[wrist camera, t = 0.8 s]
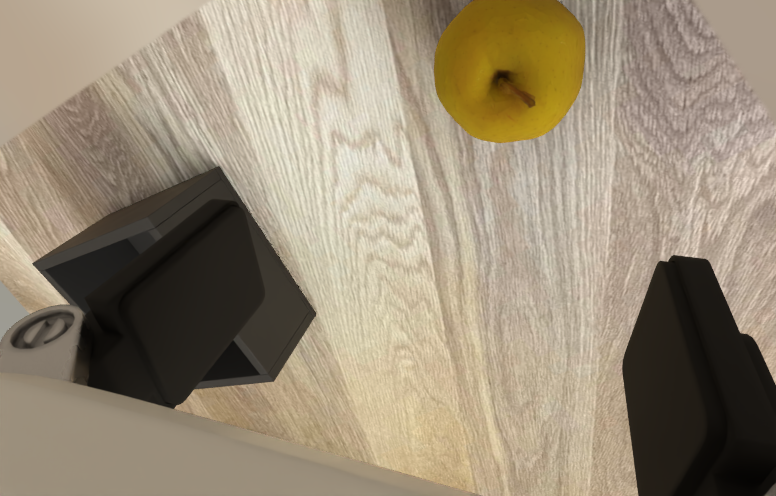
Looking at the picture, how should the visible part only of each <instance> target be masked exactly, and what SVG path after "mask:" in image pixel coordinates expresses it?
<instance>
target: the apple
mask: <svg viewBox="0 0 776 496" xmlns="http://www.w3.org/2000/svg"><path fill="white" fill-rule="evenodd" d="M584 62H585V36H584V31H583V28H582V26H581V24H580V23H579V22H578V20H577V19H576V18H575V16H574V15H573V14H572V13H570V12H569V11H568V10H567V9H566V8H565V7H564V6H563V5H562V4H561V3H560V2H558V1H557V0H473V1H472V2H470V3H469V4H468V5H467V6H465V7H464V8H463V10H462V11H461V12H460V13H459V14H458V15H457V16H456V17H455V18H454V19H453V20H452V21H451V23H450V24H449V25H448V27H447V28H446V29H445V31H444V32H443V34H442V36H441V38H440V40H439V42H438V45H437V48H436V52H435V63H434V76H435V87H436V91H437V95H438V97H439V100H440V101H441V103H442V104H443V106H444V108H445V109H446V111H447V112H448V113H449V114H450V115H451V116H452V118H453V119H454V120H455V121H456V122H457V123H458V124H459V125H460V126H461V127H462V128H463V129H464V130H465V131H466V132H467V133H468V134H470V135H471V136H473V137H475V138H478V139H481V140H485V141H490V142H495V143H505V142H514V141H520V140H529V139H533V138H537V137H539V136H542V135H544V134H545V133H547V132H549V131H550V130H551V129H553V128H554V127H555V126H556V125H557V124H558V123H559V122H560V121H561V119H562V118H563V117H564V116H565V115H566V113H567V112H568V110H569V109H570V107H571V106H572V104H573V103H574V101H575V99H576V98H577V95H578V93H579V91H580V88H581V84H582V79H583V71H584Z"/></svg>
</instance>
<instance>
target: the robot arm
mask: <svg viewBox="0 0 776 496" xmlns="http://www.w3.org/2000/svg"><path fill="white" fill-rule="evenodd" d="M264 298H265V287H264V284H263V280H262V276H261V272H260V268H259V264H258V260H257V256H256V253H255V249H254V245H253V241H252V237H251V233H250V229H249V226H248V222H247V218H246V214H245V211H244V210H243V208H241V207H240V206H239V204H238V203H237V202H235V201H232V200H224V199H211V200H209V201H208V202H206V203H205V204H204V205H203V206H201V207H200V208H199V209H198V210H196V211H195V212H194V213H192V214H191V215H190V216H189V217H187V218H186V219H185V220H183V221H182V222H181V223H180V224H178V225H177V226H176V227H175V228H173V229H172V230H171V231H169V232H168V233H167V234H166V235H164V236H163V237H162V238H160V239H159V240H158V241H157V242H155V243H154V244H153V245H151V246H150V247H149V248H148V249H146V250H145V251H144V252H143V253H141V254H140V255H139V256H137V257H136V258H135V259H134V260H132V261H131V262H130V263H128V264H127V265H126V266H125V267H123V268H122V269H121V270H120V271H118V272H117V273H116V274H114V275H113V276H112V277H111V278H109V279H108V280H107V281H105V282H104V283H103V284H102V285H100V286H99V287H98V288H96V289H95V290H94V291H93V292H91V293H90V294H89V295H88V296H86V297H85V298H84V299H85V301H86V302H87V304H88V306H89V308H90V311H89V312H88V313H87V314H85V315H84V314H83V312H82V311H81V310H80V309H79V307H76V306H73V305H56V306H50V307H47V308H44V309H41V310H38V311H36V312H34V313H32V314H30V315H28V316H26V317H24V318H23V319H21V320H19V321H18V322H17V323H15V324H14V325H13V326H12V327H11V328H10V329H9V330H8V331H7V332H6V333H5V335H4V337H3V338H2V340H1V342H0V496H481V495H478V494H474V493H471V492H467V491H464V490H460V489H457V488H453V487H450V486H446V485H443V484H439V483H436V482H432V481H429V480H425V479H422V478H418V477H415V476H411V475H408V474H404V473H401V472H397V471H394V470H390V469H387V468H383V467H380V466H376V465H373V464H369V463H366V462H362V461H358V460H355V459H351V458H348V457H344V456H341V455H337V454H334V453H330V452H326V451H323V450H319V449H316V448H312V447H309V446H305V445H301V444H298V443H294V442H291V441H287V440H284V439H280V438H276V437H273V436H269V435H266V434H262V433H258V432H255V431H251V430H248V429H244V428H240V427H237V426H233V425H230V424H226V423H222V422H219V421H215V420H212V419H208V418H204V417H201V416H197V415H193V414H190V413H186V412H182V411H179V410H175V409H174V408H175V407H176V405H179V404H181V403H183V402H184V401H185V400H186V399H187V397H188V396H189V395H190V394H191V392H192V391H193V390H194V389H195V387H196V386H197V385H198V384H199V382H200V381H201V380H202V379H203V377H204V376H205V375H206V373H207V372H208V371H209V370H210V368H211V367H212V366H213V365H214V363H215V362H216V361H217V360H218V358H219V357H220V356H221V355H222V353H223V352H224V351H225V350H226V348H227V347H228V346H229V344H230V343H231V342H232V341H233V339H234V338H235V337H236V336H237V334H238V333H239V332H240V331H241V329H242V328H243V327H244V326H245V324H246V323H247V322H248V321H249V319H250V318H251V317H252V316H253V314H254V313H255V312H256V310H257V309H258V308H259V307H260V305H261V304H262V303H263V301H264ZM622 371H623V380H624V388H625V395H626V403H627V411H628V418H629V426H630V434H631V441H632V449H633V457H634V465H635V472H636V480H637V488H638V495H639V496H776V385H775V382H774V380H773V378H772V376H771V374H770V372H769V369H768V367H767V365H766V363H765V361H764V358H763V356H762V354H761V352H760V350H759V347H758V345H757V344H756V342H755V340H754V339H753V338H752V337H751V336H749V335H748V334H742V333H740V332H739V330H738V327H737V325H736V323H735V320H734V318H733V316H732V313H731V311H730V309H729V306H728V304H727V302H726V299H725V297H724V295H723V292H722V290H721V288H720V285H719V283H718V281H717V278H716V276H715V274H714V271H713V269H712V267H711V264H710V262H709V261H708V260H706V259H701V258H693V257H684V256H676V255H673V256H671V258H670V259H669V261H668V262H665V261H660V262H658V264H657V266H656V268H655V271H654V274H653V277H652V279H651V282H650V285H649V288H648V291H647V293H646V296H645V299H644V302H643V304H642V307H641V310H640V313H639V316H638V318H637V321H636V324H635V327H634V329H633V332H632V335H631V338H630V340H629V343H628V346H627V349H626V352H625V354H624V358H623V366H622Z"/></svg>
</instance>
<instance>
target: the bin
mask: <svg viewBox="0 0 776 496" xmlns="http://www.w3.org/2000/svg"><path fill="white" fill-rule="evenodd" d="M211 199H224V200H232V201H235V202H237V203H238V204H239V206H240V207H241V208H243V210H244V211H245V214H246V218H247V222H248V226H249V229H250V233H251V237H252V241H253V245H254V249H255V253H256V256H257V260H258V264H259V268H260V272H261V276H262V280H263V284H264V287H265V298H264V301H263V303H262V304H261V305H260V307H259V308H258V309H257V310H256V312H255V313H254V314H253V316H252V317H251V318H250V319H249V321H248V322H247V323H246V324H245V326H244V327H243V328H242V329H241V331H240V332H239V333H238V334H237V336H236V337H235V338H234V339H233V341H232V342H231V343H230V344H229V346H228V347H227V348H226V350H225V351H224V352H223V353H222V355H221V356H220V357H219V358H218V360H217V361H216V362H215V363H214V365H213V366H212V367H211V368H210V370H209V371H208V372H207V373H206V375H205V376H204V377H203V379H202V380H201V381H200V382H199V384H198V385H197V386H196V387H195V389H203V388H213V387H223V386H234V385H244V384H254V383H264V382H274V380H275V379H276V377H277V376H278V374H279V372H280V371H281V369H282V368H283V366H284V365H285V363H286V361H287V360H288V358H289V357H290V355H291V354H292V352H293V350H294V349H295V347H296V346H297V344H298V343H299V341H300V339H301V338H302V336H303V335H304V333H305V331H306V330H307V328H308V327H309V325H310V324H311V322H312V320H313V319H314V317H315V316H316V313H315V312H314V310H313V309H312V307H311V306H310V304H309V303H308V301H307V300H306V298H305V296H304V295H303V293H302V292H301V290H300V289H299V287H298V286H297V284H296V283H295V281H294V280H293V278H292V277H291V275H290V274H289V272H288V271H287V269H286V268H285V266H284V265H283V263H282V262H281V260H280V258H279V257H278V255H277V254H276V252H275V251H274V249H273V248H272V246H271V245H270V243H269V242H268V240H267V239H266V237H265V236H264V234H263V233H262V231H261V230H260V228H259V227H258V225H257V224H256V222H255V220H254V219H253V217H252V216H251V214H250V213H249V211H248V210H247V208H246V207H245V205H244V204H243V202H242V201H241V199H240V198H239V196H238V195H237V193H236V192H235V190H234V189H233V187H232V186H231V184H230V182H229V181H228V179H227V178H226V176H225V175H224V173H223V172H222V170H221V169H220V167H216V168H214V169H212V170H209V171H207V172H205V173H203V174H200V175H198V176H196V177H194V178H191V179H189V180H187V181H184V182H182V183H180V184H178V185H175V186H173V187H171V188H168V189H166V190H164V191H162V192H159V193H157V194H155V195H153V196H150V197H148V198H146V199H143V200H141V201H139V202H137V203H134V204H132V205H130V206H127V207H125V208H123V209H121V210H118V211H116V212H114V213H112V214H109V215H107V216H106V217H104V218H103V219H101V220H99V221H98V222H96V223H95V224H93V225H92V226H90V227H88V228H87V229H85V230H84V231H82V232H81V233H79V234H77V235H76V236H74V237H73V238H71V239H70V240H68V241H67V242H65V243H63V244H62V245H60V246H59V247H57V248H56V249H54V250H52V251H51V252H49V253H48V254H46V255H45V256H43V257H41V258H40V259H38V260H37V261H35V262H34V263H32V264H33V265H34V266H35V267H36V268H37V269H38V271H40V273H41V274H42V275H43V276H44V277H45V278H46V279H47V280H48V281H49V282H50V283H51V284H52V286H53V287H54V288H55V289H56V290H57V291H58V292H59V293H60V294H61V295H62V296H63V297H64V298H65V299H66V300H67V301H68V303H69V304H70V305H73V306H76V307H79V309H80V310H81V311H82V312H83V314H84V315H85V314H87V313H88V312H89V311H90V308H89V306H88V304H87V302H86V301H85V299H84V298H85V297H86V296H88V295H89V294H90V293H91V292H93V291H94V290H95V289H96V288H98V287H99V286H100V285H102V284H103V283H104V282H105V281H107V280H108V279H109V278H111V277H112V276H113V275H114V274H116V273H117V272H118V271H120V270H121V269H122V268H123V267H125V266H126V265H127V264H128V263H130V262H131V261H132V260H134V259H135V258H136V257H137V256H139V255H140V254H141V253H143V252H144V251H145V250H146V249H148V248H149V247H150V246H151V245H153V244H154V243H155V242H157V241H158V240H159V239H160V238H162V237H163V236H164V235H166V234H167V233H168V232H169V231H171V230H172V229H173V228H175V227H176V226H177V225H178V224H180V223H181V222H182V221H183V220H185V219H186V218H187V217H189V216H190V215H191V214H192V213H194V212H195V211H196V210H198V209H199V208H200V207H201V206H203V205H204V204H205V203H206V202H208V201H209V200H211Z"/></svg>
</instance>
